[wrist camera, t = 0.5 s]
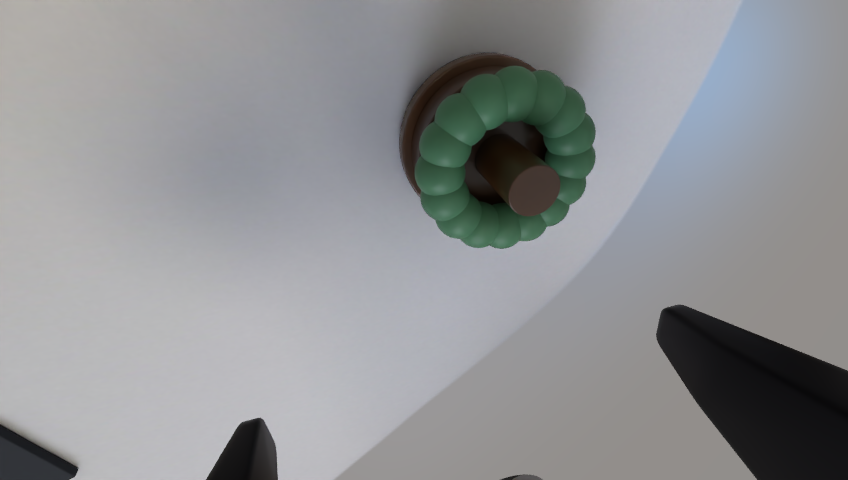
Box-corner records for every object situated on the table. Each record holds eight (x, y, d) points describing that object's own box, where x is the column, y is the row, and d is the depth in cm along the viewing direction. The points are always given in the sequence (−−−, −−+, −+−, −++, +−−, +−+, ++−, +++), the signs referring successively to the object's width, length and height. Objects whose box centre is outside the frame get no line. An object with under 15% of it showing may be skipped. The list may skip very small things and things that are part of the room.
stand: (568, 169, 23) (643, 224, 18) (436, 236, 23) (474, 309, 18) (530, 19, 18) (615, 36, 13) (369, 102, 19) (394, 149, 14)
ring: (594, 188, 21) (619, 207, 19) (449, 261, 21) (462, 285, 19) (558, 25, 16) (587, 30, 15) (378, 118, 17) (386, 134, 15)
